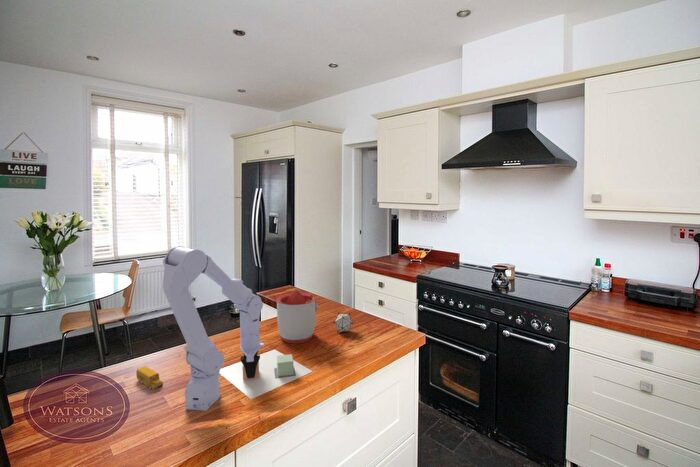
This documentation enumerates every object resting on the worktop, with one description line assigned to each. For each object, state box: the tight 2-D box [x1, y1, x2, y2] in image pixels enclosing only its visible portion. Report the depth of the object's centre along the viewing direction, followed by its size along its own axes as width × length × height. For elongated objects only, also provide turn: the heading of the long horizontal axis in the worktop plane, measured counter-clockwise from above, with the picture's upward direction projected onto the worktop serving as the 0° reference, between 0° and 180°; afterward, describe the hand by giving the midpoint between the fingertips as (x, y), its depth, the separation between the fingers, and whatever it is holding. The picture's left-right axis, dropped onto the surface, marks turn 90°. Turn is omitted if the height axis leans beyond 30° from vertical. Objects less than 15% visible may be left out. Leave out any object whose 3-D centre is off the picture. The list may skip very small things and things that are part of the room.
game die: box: [332, 312, 355, 334], centre depth 148 cm, size 9×8×10 cm
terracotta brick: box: [243, 361, 259, 380], centre depth 110 cm, size 5×5×4 cm
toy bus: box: [136, 366, 164, 391], centre depth 107 cm, size 3×10×4 cm, turn 56°
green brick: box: [277, 353, 294, 377], centre depth 112 cm, size 5×5×4 cm
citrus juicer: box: [275, 290, 321, 344], centre depth 139 cm, size 16×17×20 cm
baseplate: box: [219, 348, 313, 400], centre depth 113 cm, size 22×22×1 cm
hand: (251, 373), depth 110 cm, fingers closed on terracotta brick, 5 cm apart
